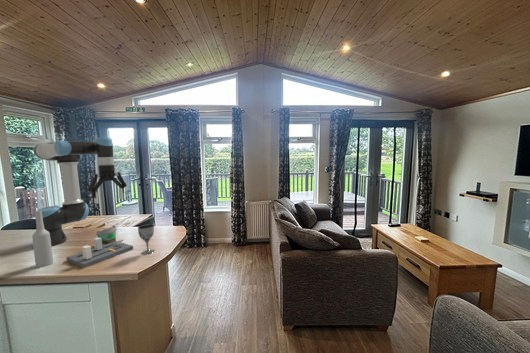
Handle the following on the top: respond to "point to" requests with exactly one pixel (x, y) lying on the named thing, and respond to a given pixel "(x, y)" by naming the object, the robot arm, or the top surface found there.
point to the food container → (107, 235)
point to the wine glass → (146, 236)
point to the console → (100, 254)
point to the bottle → (42, 243)
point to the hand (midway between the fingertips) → (109, 201)
